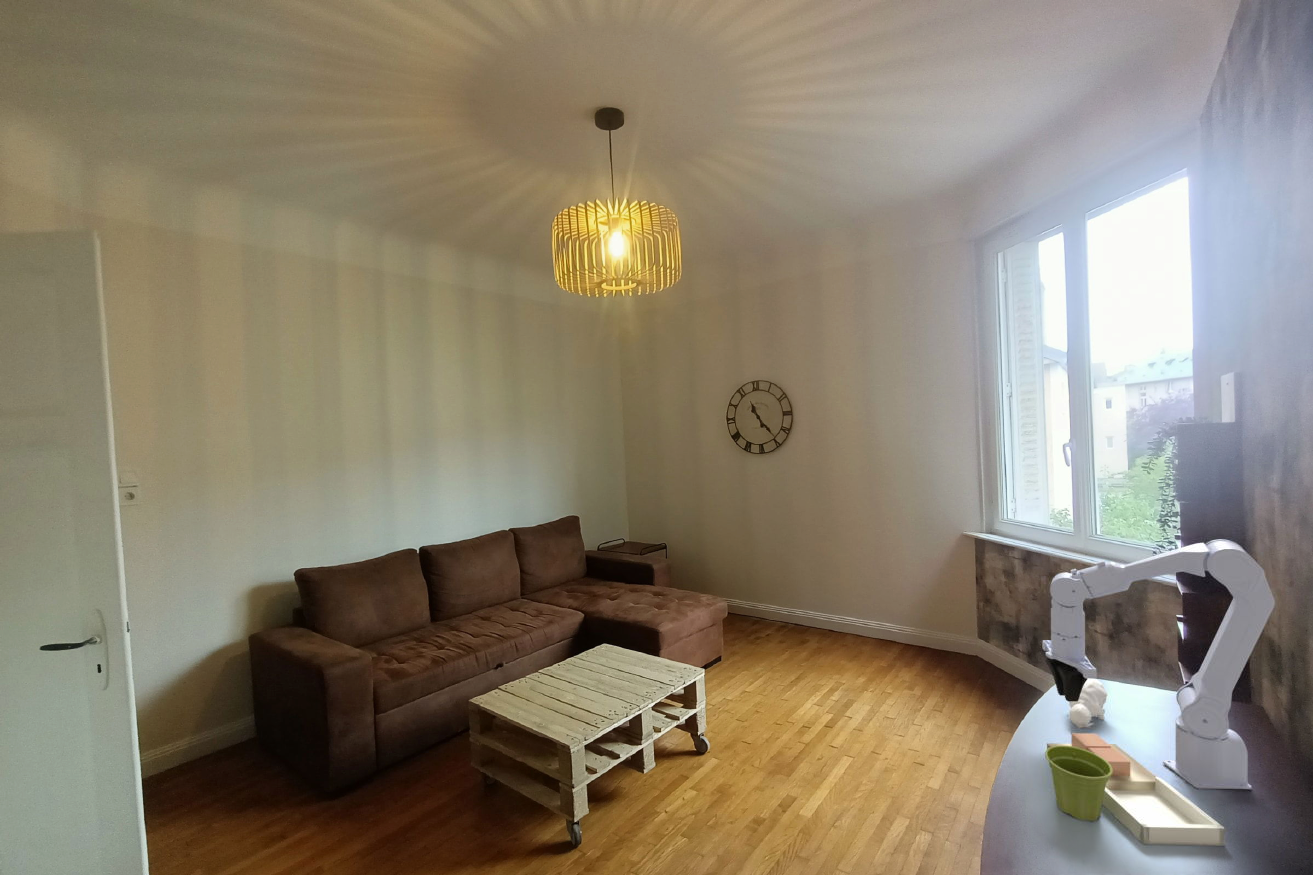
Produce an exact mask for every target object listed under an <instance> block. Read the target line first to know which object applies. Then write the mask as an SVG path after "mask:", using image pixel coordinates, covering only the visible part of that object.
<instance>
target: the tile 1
mask: <svg viewBox="0 0 1313 875" xmlns="http://www.w3.org/2000/svg"><path fill="white" fill-rule="evenodd" d="M1070 738H1071V743H1070V744H1072V747H1077V748H1081V749H1084V750H1087V751H1088V748H1111V746H1110V745H1109V744H1110V743H1108V742H1106V741H1105V740H1104V739H1103V738H1102V737H1100V736H1099V735H1098V734H1097V733H1074V732H1073V733H1071V737H1070Z"/></svg>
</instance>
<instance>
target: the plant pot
mask: <svg viewBox="0 0 1313 875" xmlns="http://www.w3.org/2000/svg"><path fill="white" fill-rule="evenodd" d="M1044 756H1045V758H1046V760H1047V761H1048V765H1049V767H1050V771H1051V775H1052V776H1051V777H1052V781H1053V782H1052V783H1053V787H1054V794H1055V799H1056V800H1055V801H1056V805H1057V808H1059V809H1060V810H1061V811H1062V812H1063V813H1067V814H1069V815H1071V816H1072V817H1073V818H1075V819H1078V820H1080V821H1081V820H1082V821H1087V822H1088V821H1090V822H1091V821H1096V820H1097V819H1098V818H1099V817H1100V816H1101V814H1102V813H1101V812H1102V806H1103V804H1102V802H1103V796H1104V791H1105V786H1106V783H1107V782H1108V779H1109V777H1110V776H1111V775H1112V773H1113V769H1112V767H1111V765H1110V764H1109V763H1108V762H1107V761H1106V760H1105V759H1103V758H1102V757H1100V756H1098V755H1096V754H1094V753H1092V752H1090V751H1087V750H1084V749H1081V748H1077V747H1072V746H1052V747H1050V748H1048V749H1047V748H1046V750H1045V753H1044Z"/></svg>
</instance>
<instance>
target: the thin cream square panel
mask: <svg viewBox="0 0 1313 875" xmlns="http://www.w3.org/2000/svg"><path fill="white" fill-rule="evenodd" d="M1108 744H1109V745H1110V746H1111V748H1114V749H1115V750H1116V751H1117V752H1119V753H1120V754H1121V755H1122V756H1124V757H1125V758H1126V759H1127V760H1129V761H1130V775H1111V776H1110V777H1109V779H1108V782H1107V783H1106V786H1105V787H1106V788H1107V789H1108V790H1133V791H1155V777H1157V776H1156V775H1155V774H1154V773H1152V772H1151V771H1150V770H1149V769H1147V768H1146V767H1145V766H1144V765H1142V764H1141V763H1140V762H1138V761H1137V760H1136V759H1134V757H1132V756H1131V755H1130V754H1129V753H1127V752H1126V751H1124V749H1122V748H1121V747H1120V746H1118V745H1117V744H1115V743H1108ZM1052 746H1072V744H1071V743H1059V742H1058V743H1053V742H1051V743H1049V742H1048V743H1046V750H1047V749H1048V748H1050V747H1052Z"/></svg>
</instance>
